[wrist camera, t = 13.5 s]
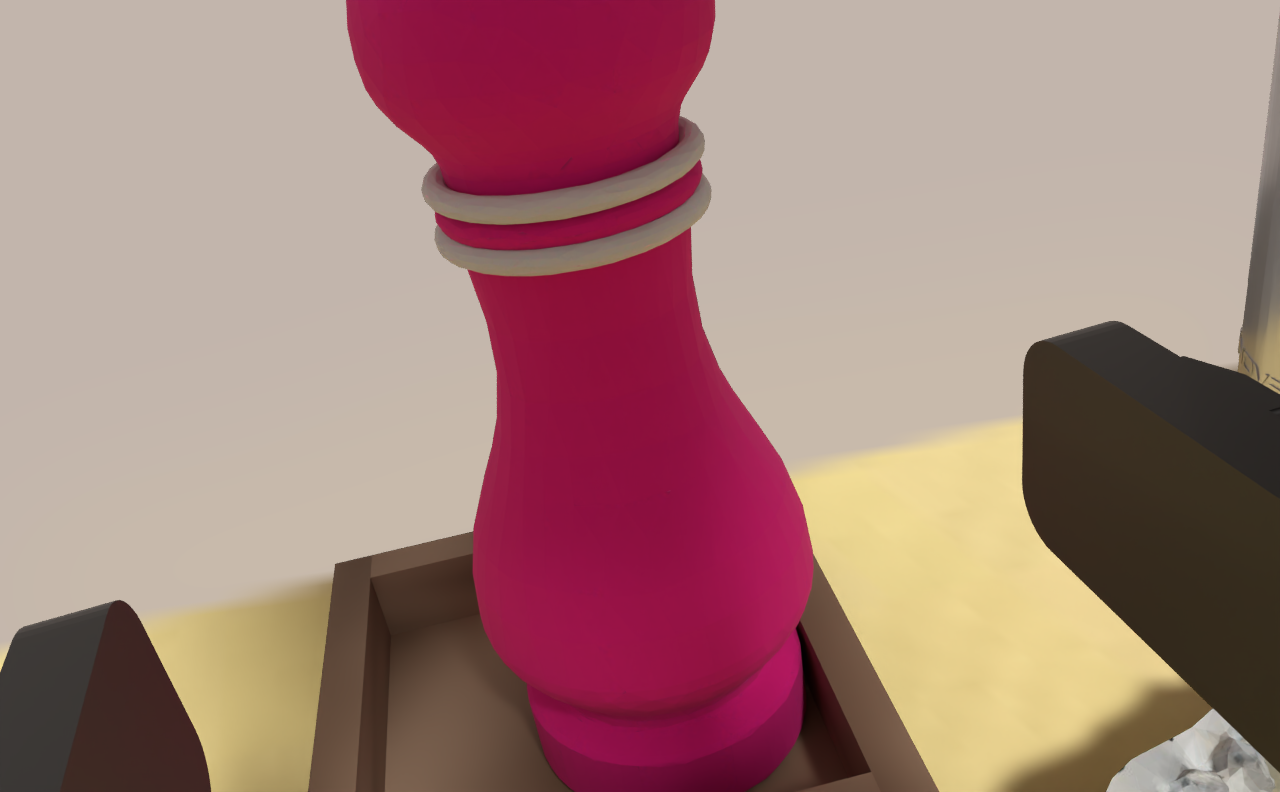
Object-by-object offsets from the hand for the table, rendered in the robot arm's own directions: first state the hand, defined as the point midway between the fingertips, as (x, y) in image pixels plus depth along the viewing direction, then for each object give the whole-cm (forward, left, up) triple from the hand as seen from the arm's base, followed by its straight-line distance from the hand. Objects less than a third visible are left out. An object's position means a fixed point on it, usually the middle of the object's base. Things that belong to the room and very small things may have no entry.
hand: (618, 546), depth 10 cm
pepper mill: (+3, -11, -13) cm, 17 cm away
